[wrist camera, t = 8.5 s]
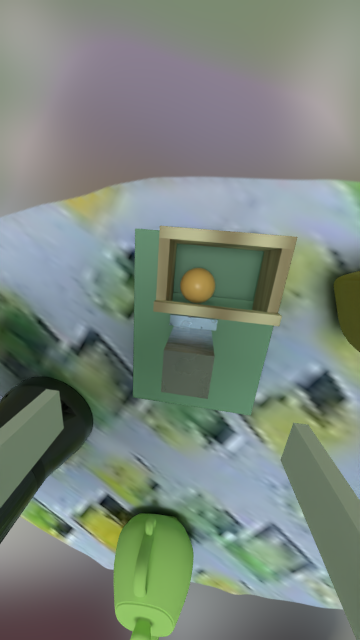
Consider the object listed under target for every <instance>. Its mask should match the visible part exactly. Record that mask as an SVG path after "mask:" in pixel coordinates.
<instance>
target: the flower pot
mask: <svg viewBox="0 0 360 640" xmlns="http://www.w3.org/2000/svg"><path fill="white" fill-rule="evenodd" d="M334 293H335V299H336V306H337V313H338V319H339V323H340V327H341V330H342V332H343V334H344V336H345V337H346V339H347V340H348V342H349V343H350V344H351V345H352V346H353V347H354V348H355V349H357V350H358V351H359V352H360V271H357V272H353V273H350V274H346V275H343V276H340V277H338V278H337V279H336V280H335V282H334Z"/></svg>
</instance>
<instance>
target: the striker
mask: <svg viewBox="0 0 360 640" xmlns="http://www.w3.org/2000/svg"><path fill="white" fill-rule="evenodd" d="M217 322H218V319H213V318H205V317H196V316H188V315H179V314H170V325H173V326H174V327H173V329H172V332H171V334H170V336H169V339H168V341H167V343H166V346H165V348H164V354H163V369H162V383H161V392H165V393H171V394H178V395H185V396H191V397H198V398H204V399H208V395H209V389H210V383H211V377H212V371H213V365H214V358H215V354H214V347H213V339H212V332H211V330H214V331H216V328H217Z"/></svg>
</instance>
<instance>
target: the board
mask: <svg viewBox="0 0 360 640" xmlns="http://www.w3.org/2000/svg"><path fill="white" fill-rule="evenodd" d="M159 233H160V231H158V230H146V229H135V288H134V357H133V397H135V398H141V399H148V400H154V401H161V402H167V403H174V404H180V405H187V406H193V407H200V408H206V409H213V410H219V411H226V412H232V413H239V414H245V415H251V411H252V407H253V403H254V400H255V396H256V392H257V388H258V384H259V380H260V376H261V372H262V369H263V365H264V361H265V357H266V353H267V349H268V345H269V341H270V338H271V334H272V330H273V325H265V324H256V323H247V322H239V321H230V320H222V319H218V322H217V328H216V331H214V330H211V332H212V339H213V347H214V354H215V358H214V365H213V371H212V377H211V383H210V389H209V395H208V399H204V398H198V397H191V396H185V395H178V394H171V393H165V392H161V383H162V369H163V354H164V348H165V346H166V343H167V341H168V339H169V336H170V334H171V332H172V329H173V327H174V326H173V325H170V314H171V313H162V312H154V311H153V306H154V301H155V300H156V292H157V272H158V252H159ZM263 256H264V251H256V250H245V249H233V248H222V247H210V246H199V245H188V244H177V247H176V260H175V273H174V286H173V299H172V301H174V302H183V303H192V302H190V301H188V300H187V299H186V298H185V297H184V296H183V294H182V292H181V289H180V283H181V279H182V277H183V275H184V274H185V273H186V272H187V271H189V270H191V269H193V268H203V269H205V270H207V271H209V272H210V273H211V274H212V276H213V277H214V280H215V291H214V293H213V295H212V296H211V298H210V299H208V300H207V301H205V302H203V303H192V304H201V305H210V306H219V307H228V308H237V309H246V310H252V307H253V303H254V298H255V293H256V289H257V284H258V279H259V275H260V270H261V265H262V261H263Z"/></svg>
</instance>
